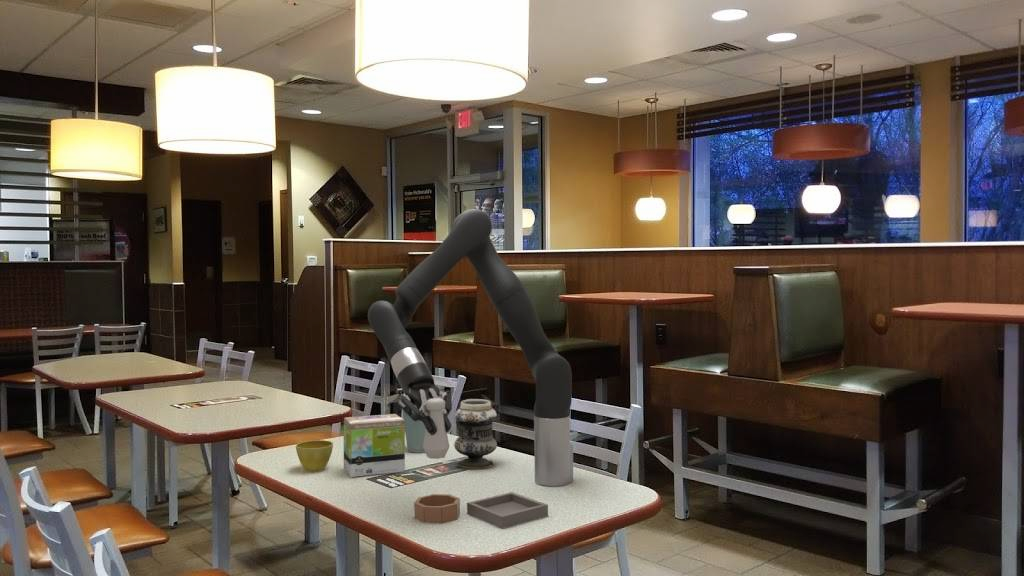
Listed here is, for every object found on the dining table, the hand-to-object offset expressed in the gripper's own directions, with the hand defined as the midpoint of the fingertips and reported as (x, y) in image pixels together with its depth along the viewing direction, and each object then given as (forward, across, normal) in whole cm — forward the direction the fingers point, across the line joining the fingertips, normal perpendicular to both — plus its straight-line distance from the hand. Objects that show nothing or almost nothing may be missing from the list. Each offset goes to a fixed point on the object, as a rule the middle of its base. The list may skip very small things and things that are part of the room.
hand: (441, 431), depth 174 cm
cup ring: (+12, 0, +15) cm, 20 cm away
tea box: (-18, +8, +46) cm, 51 cm away
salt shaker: (+3, 0, +6) cm, 6 cm away
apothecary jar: (-9, +33, +37) cm, 51 cm away
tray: (+19, +12, +8) cm, 24 cm away
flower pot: (-27, -4, +55) cm, 61 cm away
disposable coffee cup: (-27, +30, +55) cm, 68 cm away
